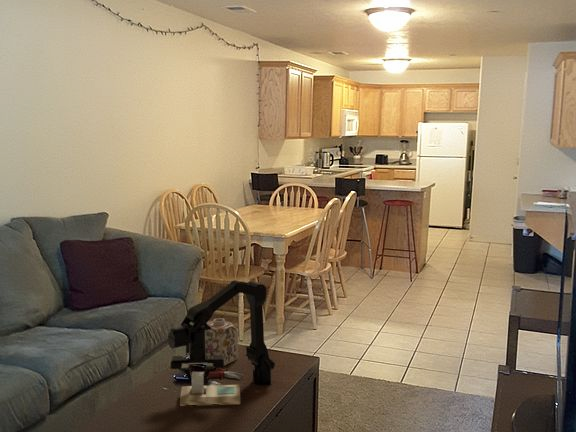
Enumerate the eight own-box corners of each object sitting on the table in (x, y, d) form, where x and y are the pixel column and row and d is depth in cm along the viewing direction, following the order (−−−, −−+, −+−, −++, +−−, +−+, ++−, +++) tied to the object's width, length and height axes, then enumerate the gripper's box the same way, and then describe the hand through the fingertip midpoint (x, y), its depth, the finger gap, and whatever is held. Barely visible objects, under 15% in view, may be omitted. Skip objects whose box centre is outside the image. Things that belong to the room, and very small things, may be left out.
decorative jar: (238, 359, 261) (238, 318, 259) (221, 368, 251) (221, 325, 249) (216, 354, 267) (216, 313, 265) (199, 362, 257) (198, 320, 255)
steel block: (204, 392, 223) (203, 371, 222) (203, 397, 219) (203, 376, 218) (192, 393, 223) (192, 372, 222) (191, 398, 218) (191, 376, 217)
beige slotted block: (239, 392, 227) (239, 384, 227) (240, 404, 217) (240, 395, 217) (182, 394, 225) (182, 385, 225) (180, 406, 215) (180, 397, 215)
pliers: (236, 385, 235) (236, 378, 235) (189, 378, 242) (189, 371, 241) (248, 374, 246) (248, 368, 246) (202, 368, 252) (202, 361, 252)
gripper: (224, 334, 227) (224, 375, 229) (172, 336, 225) (173, 376, 227) (223, 345, 216) (224, 387, 218) (170, 346, 214) (170, 389, 216)
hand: (197, 384), depth 220 cm, fingers closed on steel block, 4 cm apart
